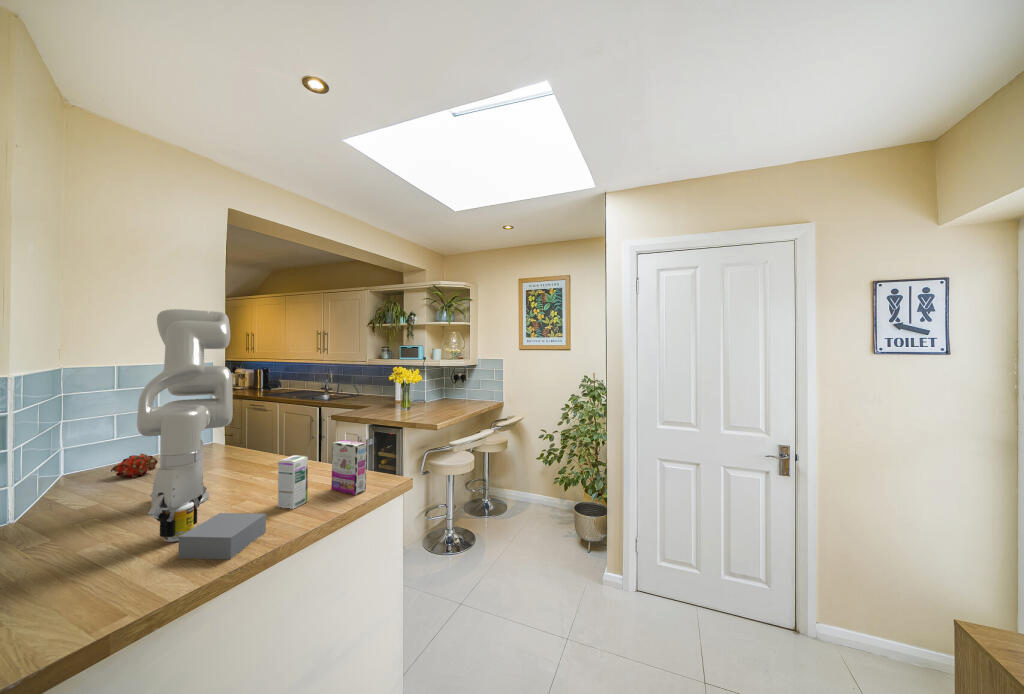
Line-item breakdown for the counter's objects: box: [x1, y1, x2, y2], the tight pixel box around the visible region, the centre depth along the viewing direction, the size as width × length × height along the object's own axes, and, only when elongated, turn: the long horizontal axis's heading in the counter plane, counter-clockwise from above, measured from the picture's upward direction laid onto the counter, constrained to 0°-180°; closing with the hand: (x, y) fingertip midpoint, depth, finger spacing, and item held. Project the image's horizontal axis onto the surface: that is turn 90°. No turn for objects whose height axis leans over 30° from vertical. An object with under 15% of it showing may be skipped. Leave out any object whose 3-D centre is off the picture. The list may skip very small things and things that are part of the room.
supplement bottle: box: [163, 501, 194, 543], centre depth 93 cm, size 6×6×10 cm
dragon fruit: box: [110, 453, 159, 479], centre depth 134 cm, size 8×8×12 cm
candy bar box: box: [330, 439, 368, 496], centre depth 125 cm, size 11×5×16 cm, turn 68°
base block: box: [177, 512, 267, 560], centre depth 90 cm, size 12×12×5 cm
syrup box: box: [277, 454, 309, 510], centre depth 113 cm, size 6×6×14 cm
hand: (179, 529), depth 93 cm, fingers closed on supplement bottle, 5 cm apart
